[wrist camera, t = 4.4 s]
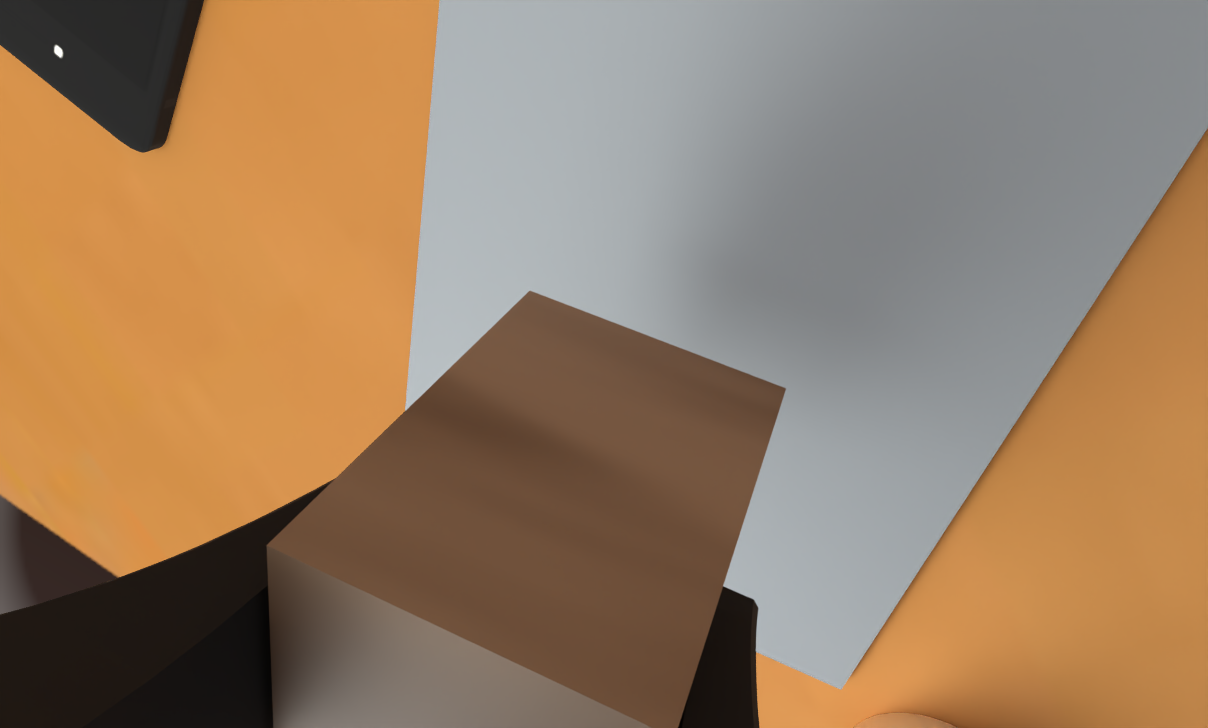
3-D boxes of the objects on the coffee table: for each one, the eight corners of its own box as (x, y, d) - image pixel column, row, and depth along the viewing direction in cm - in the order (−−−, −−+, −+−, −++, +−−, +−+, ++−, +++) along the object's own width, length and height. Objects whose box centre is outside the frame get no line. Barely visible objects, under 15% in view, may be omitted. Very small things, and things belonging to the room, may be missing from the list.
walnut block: (707, 575, 15) (581, 935, 10) (494, 483, 16) (275, 772, 11) (786, 388, 13) (673, 738, 8) (530, 290, 14) (266, 544, 8)
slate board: (842, 678, 23) (840, 689, 22) (405, 484, 25) (398, 492, 25) (1279, 0, 12) (1288, 4, 12) (468, -215, 15) (457, -217, 15)
